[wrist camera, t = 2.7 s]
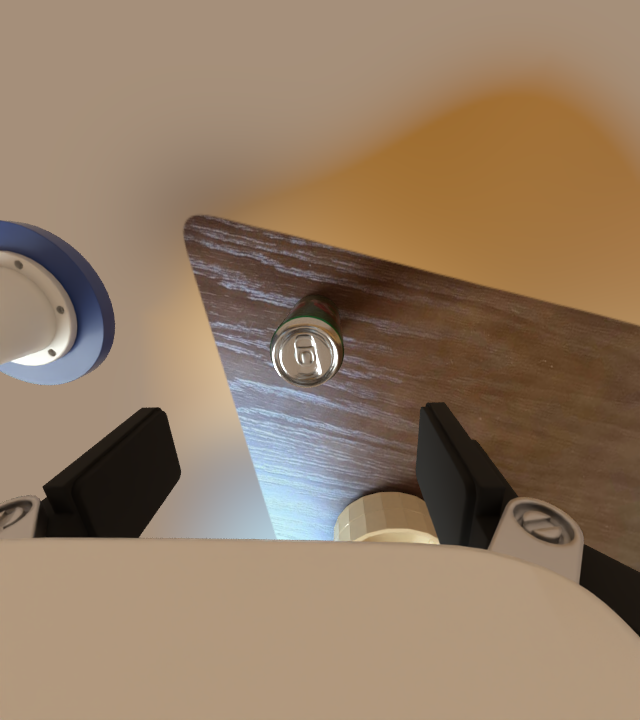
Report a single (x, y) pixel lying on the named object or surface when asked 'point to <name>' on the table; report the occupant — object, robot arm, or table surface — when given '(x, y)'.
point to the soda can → (309, 343)
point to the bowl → (386, 520)
